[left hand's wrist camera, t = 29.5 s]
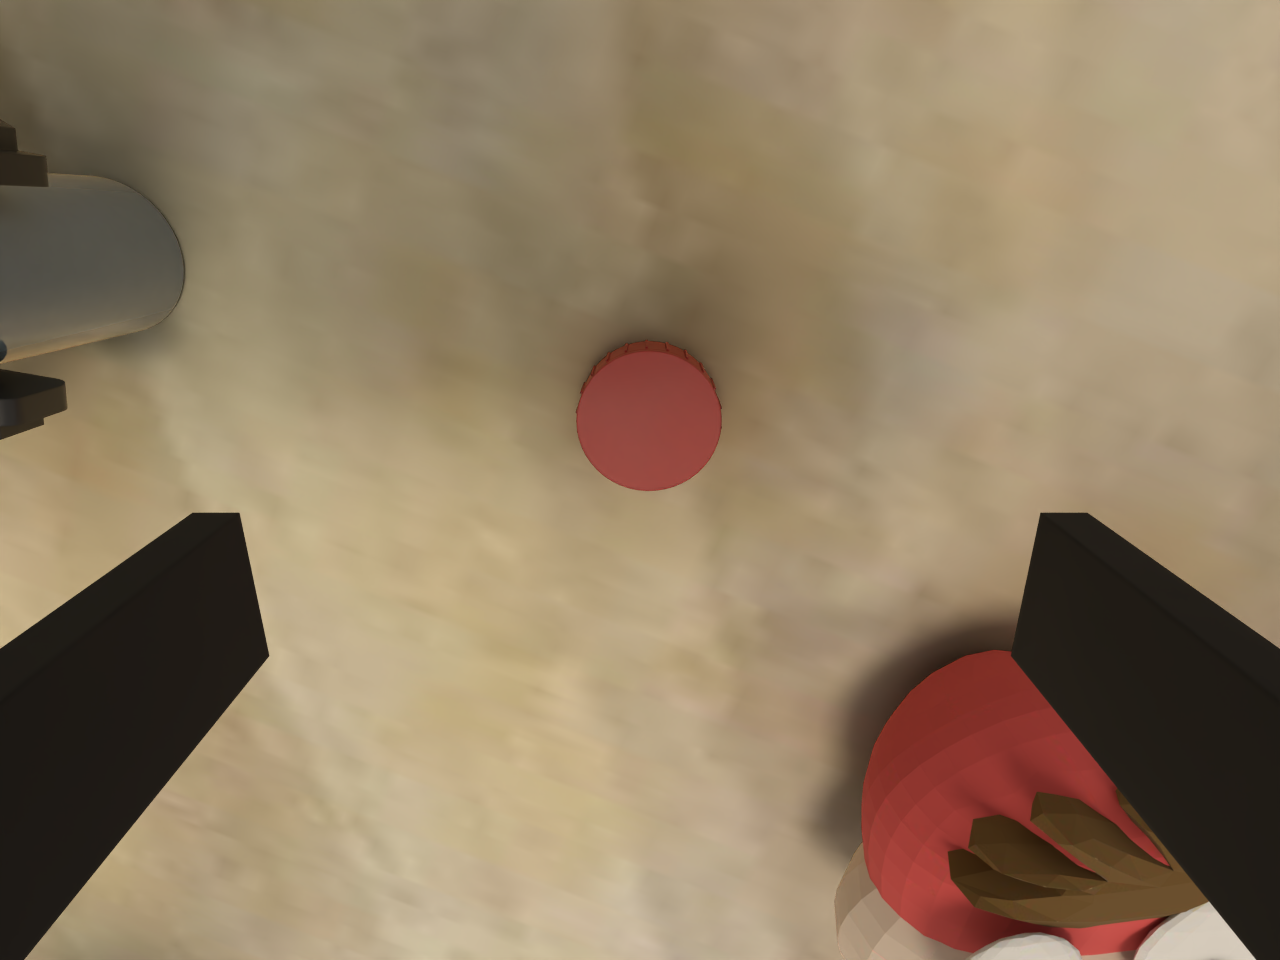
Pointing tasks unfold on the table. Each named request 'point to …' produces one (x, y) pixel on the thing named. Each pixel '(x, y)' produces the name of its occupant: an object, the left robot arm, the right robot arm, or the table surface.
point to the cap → (648, 416)
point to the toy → (1008, 840)
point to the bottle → (82, 264)
